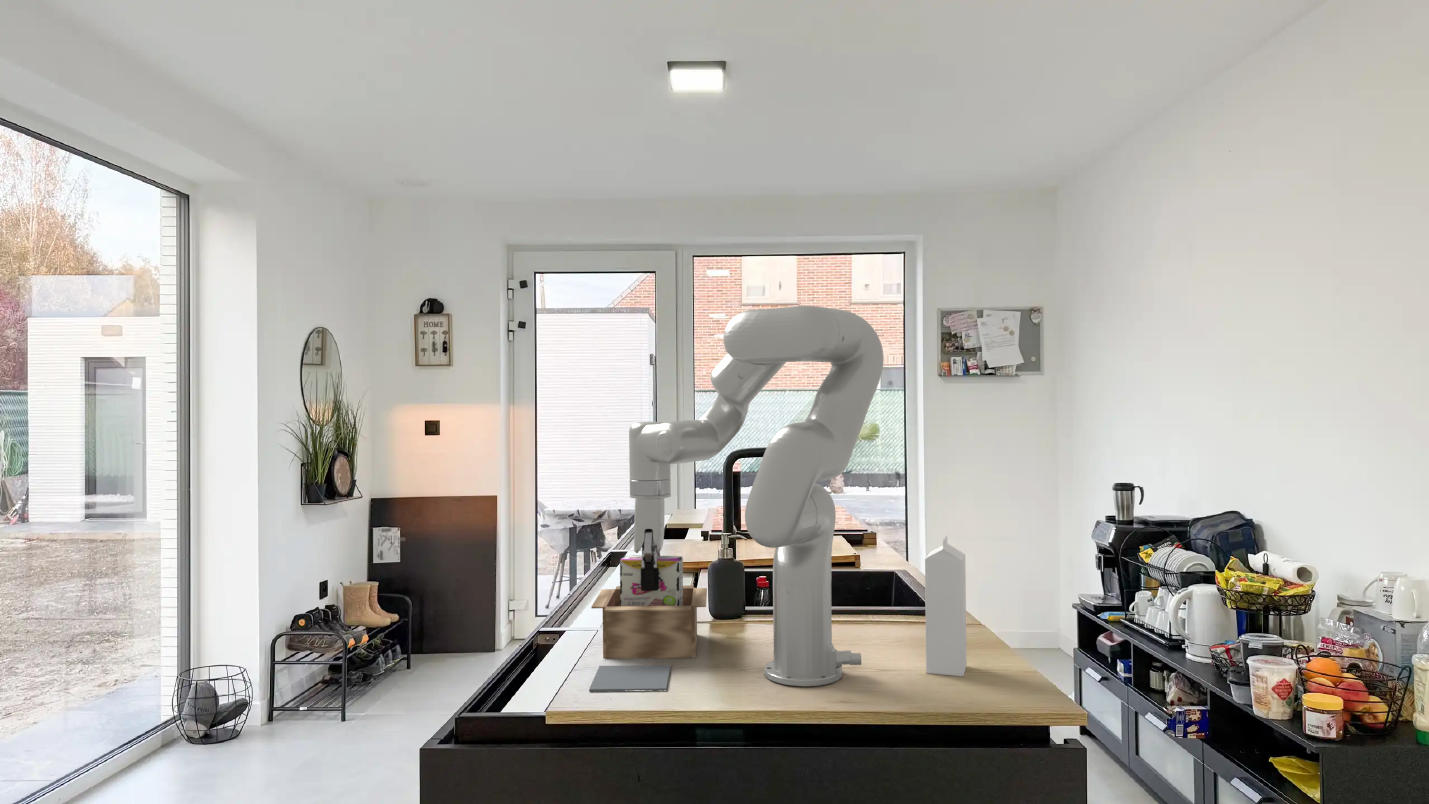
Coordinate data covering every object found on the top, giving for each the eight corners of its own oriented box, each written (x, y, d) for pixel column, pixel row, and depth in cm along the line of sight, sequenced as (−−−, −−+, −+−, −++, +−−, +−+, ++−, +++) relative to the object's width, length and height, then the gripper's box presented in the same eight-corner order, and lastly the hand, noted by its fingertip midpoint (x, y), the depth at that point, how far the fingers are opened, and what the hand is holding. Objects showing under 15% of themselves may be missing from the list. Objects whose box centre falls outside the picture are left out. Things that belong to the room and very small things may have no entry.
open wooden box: (707, 631, 172) (707, 585, 171) (706, 660, 152) (705, 608, 152) (604, 632, 172) (603, 586, 172) (589, 662, 152) (589, 610, 152)
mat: (670, 667, 149) (670, 664, 149) (666, 690, 137) (666, 688, 137) (599, 668, 149) (599, 665, 149) (589, 691, 137) (589, 689, 137)
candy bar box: (619, 649, 160) (618, 559, 160) (625, 641, 165) (623, 554, 165) (680, 650, 159) (679, 559, 159) (684, 642, 164) (683, 554, 164)
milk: (966, 666, 148) (966, 535, 147) (963, 677, 142) (963, 540, 142) (929, 662, 150) (929, 533, 150) (925, 673, 144) (924, 538, 144)
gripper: (634, 484, 170) (635, 576, 171) (624, 494, 153) (626, 597, 153) (672, 484, 170) (674, 576, 171) (668, 493, 153) (669, 596, 153)
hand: (651, 585), depth 162 cm, fingers open, 6 cm apart
